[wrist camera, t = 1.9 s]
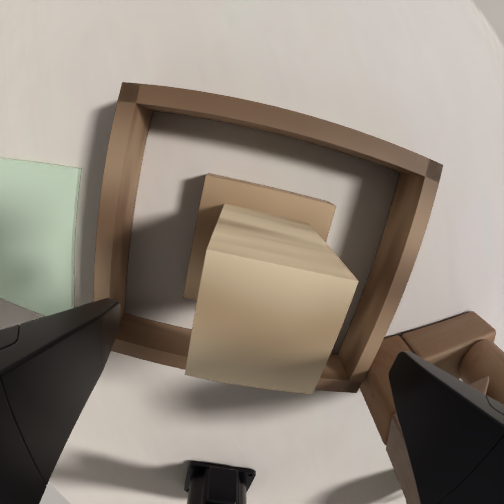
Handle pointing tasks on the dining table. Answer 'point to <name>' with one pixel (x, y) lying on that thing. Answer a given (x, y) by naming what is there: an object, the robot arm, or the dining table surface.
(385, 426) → the wooden block structure
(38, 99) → the dining table surface
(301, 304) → the beech block
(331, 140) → the wooden rectangular frame
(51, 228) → the green mat
